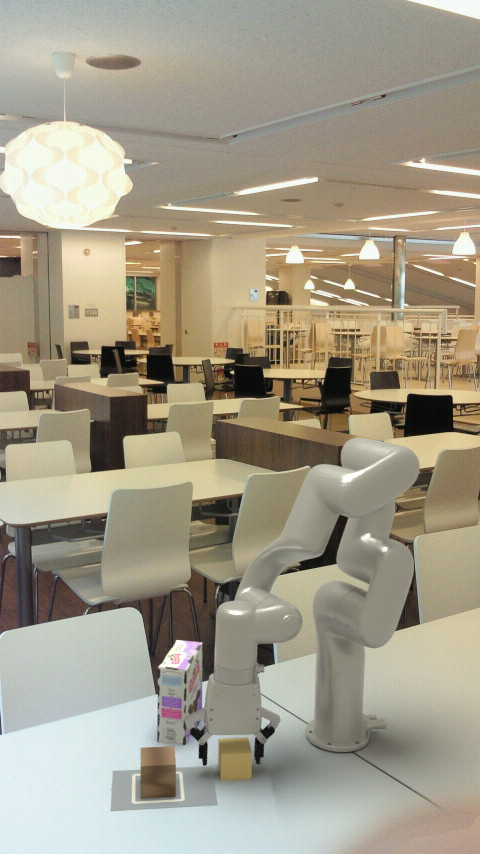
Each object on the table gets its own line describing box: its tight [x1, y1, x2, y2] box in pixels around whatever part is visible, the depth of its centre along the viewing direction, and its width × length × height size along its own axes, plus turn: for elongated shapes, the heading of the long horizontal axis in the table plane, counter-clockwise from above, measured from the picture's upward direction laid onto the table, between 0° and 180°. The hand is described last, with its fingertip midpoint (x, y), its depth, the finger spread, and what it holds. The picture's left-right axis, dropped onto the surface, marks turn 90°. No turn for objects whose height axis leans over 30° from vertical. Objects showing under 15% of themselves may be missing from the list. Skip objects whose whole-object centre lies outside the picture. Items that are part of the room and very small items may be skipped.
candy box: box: [156, 639, 203, 746], centre depth 168 cm, size 14×6×16 cm, turn 168°
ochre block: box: [217, 736, 253, 781], centre depth 153 cm, size 6×6×6 cm
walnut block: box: [140, 745, 177, 799], centre depth 147 cm, size 6×6×6 cm
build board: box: [110, 765, 219, 812], centre depth 148 cm, size 18×12×1 cm, turn 97°
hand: (230, 761), depth 153 cm, fingers open, 9 cm apart
